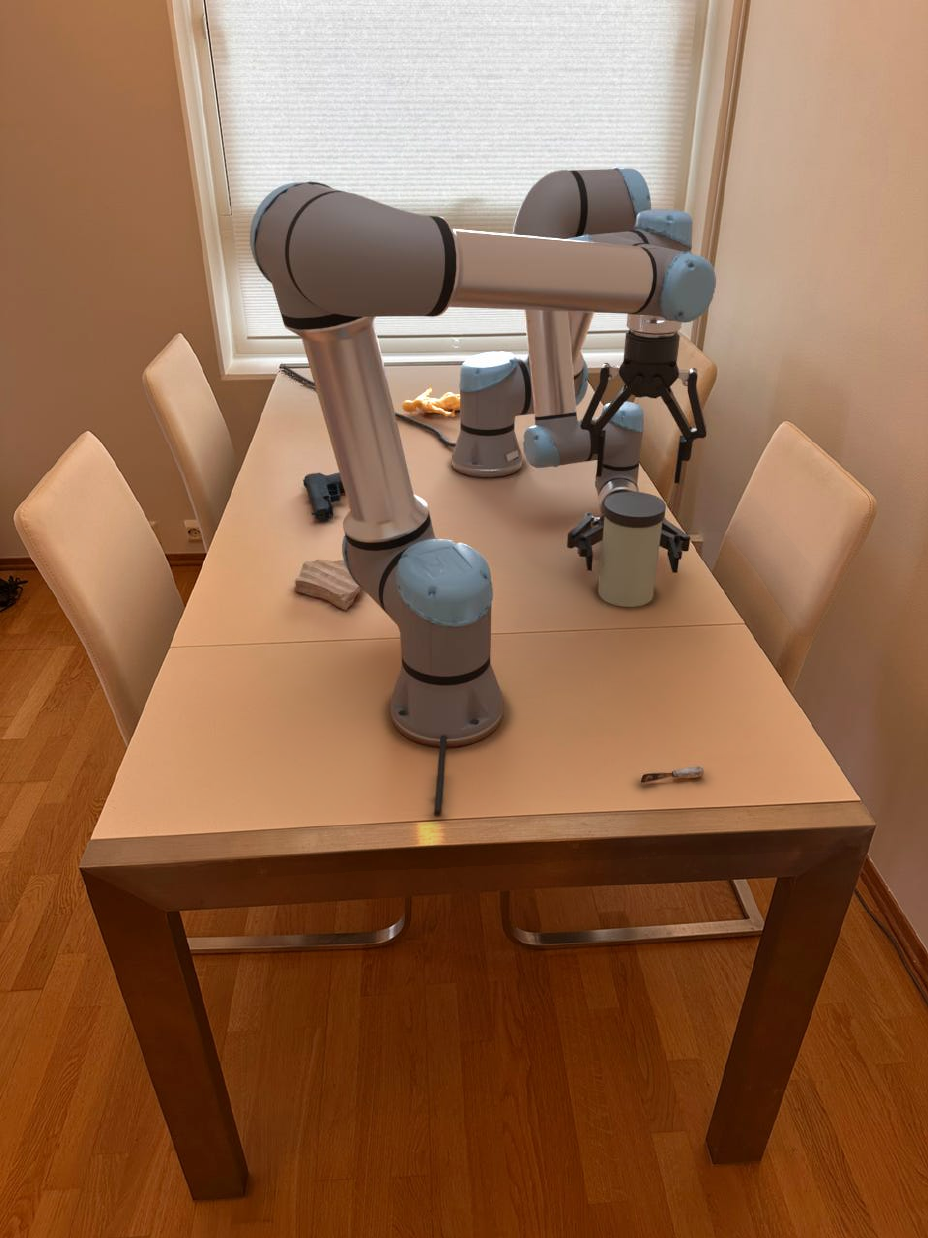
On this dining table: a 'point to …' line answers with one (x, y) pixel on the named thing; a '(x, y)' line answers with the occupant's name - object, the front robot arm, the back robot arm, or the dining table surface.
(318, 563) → the stone
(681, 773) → the putty knife
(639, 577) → the jar
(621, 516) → the lid
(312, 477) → the handgun
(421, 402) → the human figure
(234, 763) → the dining table surface
